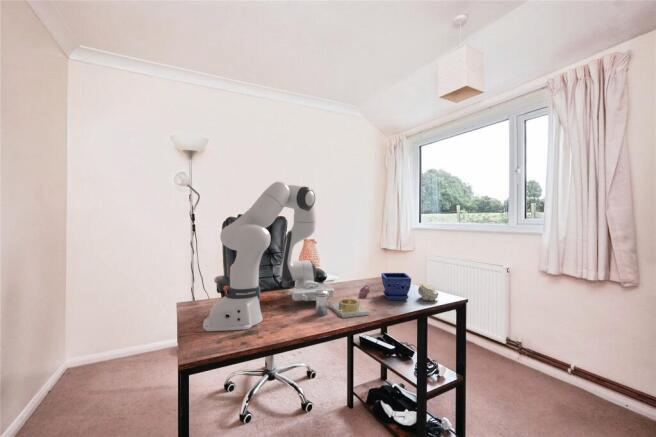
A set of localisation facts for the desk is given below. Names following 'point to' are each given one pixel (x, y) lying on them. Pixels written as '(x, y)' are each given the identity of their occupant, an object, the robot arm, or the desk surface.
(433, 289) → the fossil replica
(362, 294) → the purple stone
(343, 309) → the gold ring on slab
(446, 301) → the desk surface
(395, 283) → the flower pot
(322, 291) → the salt shaker
